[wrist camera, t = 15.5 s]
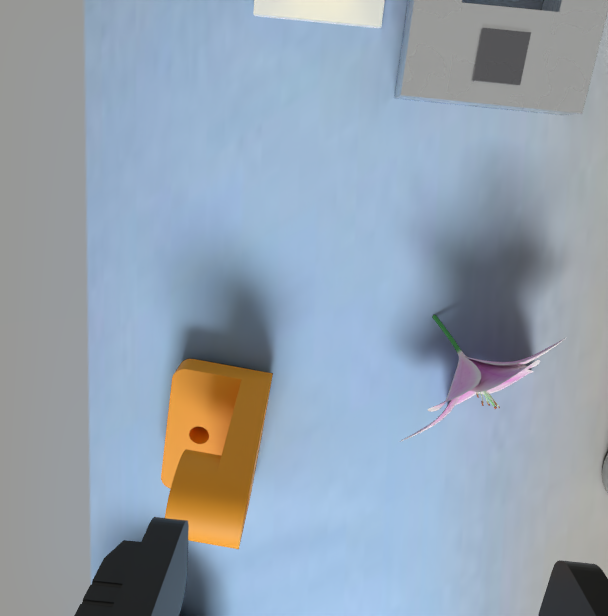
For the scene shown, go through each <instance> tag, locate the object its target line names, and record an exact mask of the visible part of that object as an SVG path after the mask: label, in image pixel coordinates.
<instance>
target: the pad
mask: <svg viewBox="0 0 608 616" xmlns="http://www.w3.org/2000/svg"><path fill="white" fill-rule="evenodd" d="M384 1H385V0H254V16H259V17H269V18H279V19H289V20H299V21H309V22H319V23H329V24H339V25H350V26H360V27H370V28H381V25H382V17H383V9H384Z"/></svg>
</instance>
